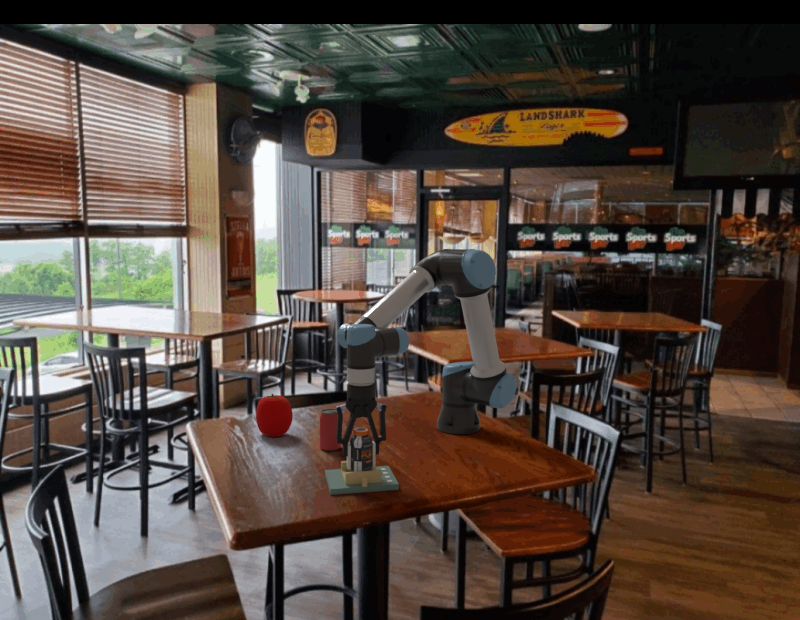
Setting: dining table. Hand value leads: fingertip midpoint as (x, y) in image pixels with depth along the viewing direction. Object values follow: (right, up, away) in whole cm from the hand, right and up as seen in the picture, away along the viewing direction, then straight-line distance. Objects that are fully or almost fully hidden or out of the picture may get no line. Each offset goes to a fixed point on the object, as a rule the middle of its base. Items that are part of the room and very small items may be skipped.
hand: (361, 466), depth 174 cm
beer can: (-11, -1, +29) cm, 31 cm away
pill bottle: (0, -1, 0) cm, 1 cm away
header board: (0, -4, 0) cm, 4 cm away
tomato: (-32, 0, +41) cm, 52 cm away
